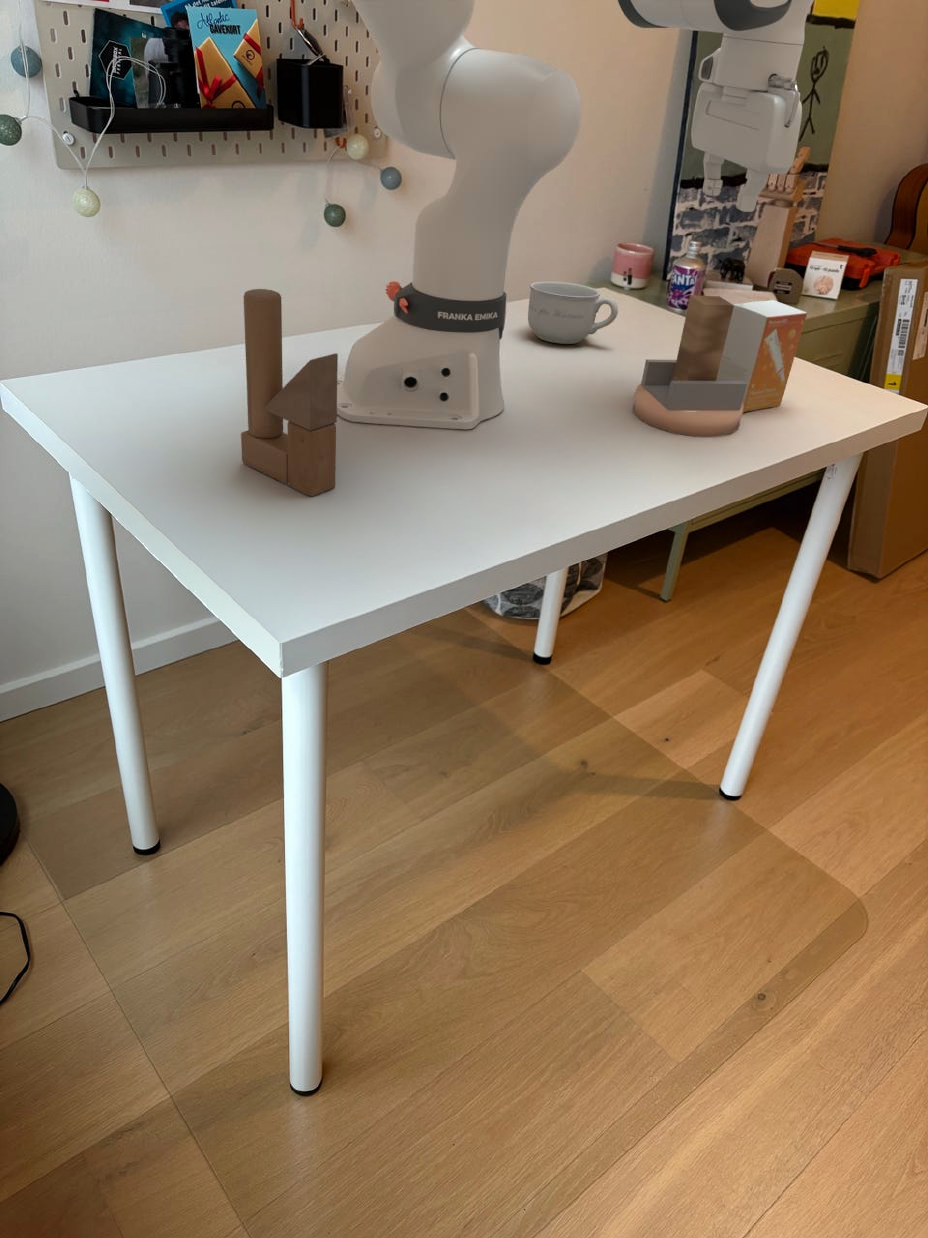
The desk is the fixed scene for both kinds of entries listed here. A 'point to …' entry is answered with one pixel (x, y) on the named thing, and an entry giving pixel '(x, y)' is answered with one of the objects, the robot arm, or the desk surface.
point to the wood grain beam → (703, 338)
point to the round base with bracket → (687, 402)
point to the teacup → (566, 311)
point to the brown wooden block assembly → (287, 404)
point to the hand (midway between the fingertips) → (726, 202)
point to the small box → (761, 350)
